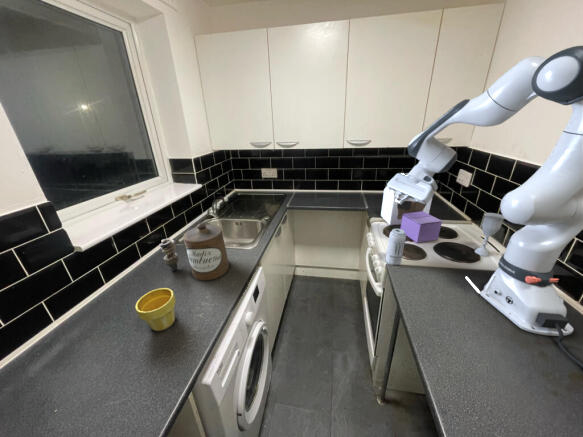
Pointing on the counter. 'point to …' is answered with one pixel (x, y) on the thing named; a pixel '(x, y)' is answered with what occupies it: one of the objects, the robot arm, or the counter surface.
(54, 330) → the counter surface
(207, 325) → the counter surface
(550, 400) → the counter surface
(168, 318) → the flower pot
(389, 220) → the gable box
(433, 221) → the flap
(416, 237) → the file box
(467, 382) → the counter surface
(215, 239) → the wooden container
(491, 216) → the chalice
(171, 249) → the grey tall piece
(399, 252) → the energy drink can
